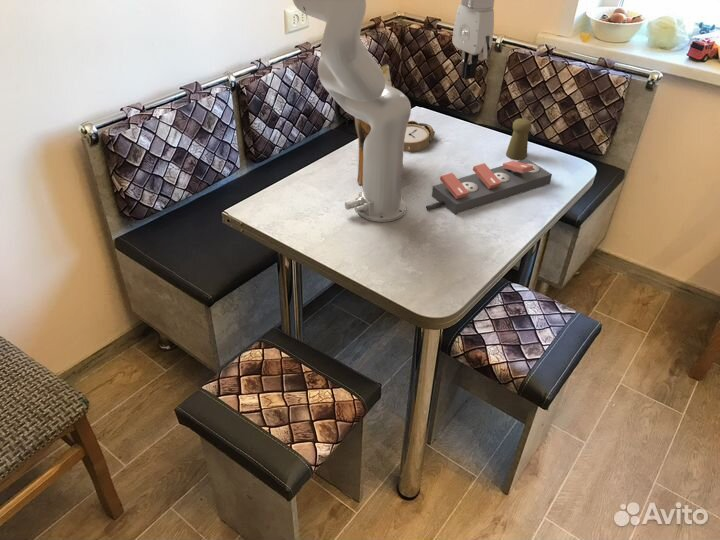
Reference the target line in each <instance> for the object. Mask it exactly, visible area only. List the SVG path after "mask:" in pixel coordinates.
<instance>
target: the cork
mask: <svg viewBox="0 0 720 540" xmlns="http://www.w3.org/2000/svg"><path fill="white" fill-rule="evenodd" d="M531 129H532V122H531V121H530V120H529V119H527V118H524V117H523V118H516V119H515V120H514V121H513V122H512V130H513V132H512V133H511V137H510V141H509V143H508V147H507V150H506V152H505V156H506V157H507V158H508V159H510V160H511V161H520V160H524V159H528V145H529V144H528V142H529V133H530V132H531Z"/></svg>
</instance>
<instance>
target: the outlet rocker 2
mask: <svg viewBox="0 0 720 540" xmlns="http://www.w3.org/2000/svg"><path fill="white" fill-rule="evenodd" d="M490 169H491V168H489V166H488V165H487V164H486V163H480V164H477V165H474V166H473V167H472V171H473V172H474V174H477V176H478V177H479V180H480V182H483V183H484V184H485V185H486V186H487V187H488V189H491V188H495V187H498V186H500V185H501V181H500V180H499V179H498V178H497V177H496V176H495V175H494V173H493V172H492V171H491V170H490Z"/></svg>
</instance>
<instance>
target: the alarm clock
mask: <svg viewBox="0 0 720 540" xmlns="http://www.w3.org/2000/svg"><path fill="white" fill-rule="evenodd" d="M435 133H436V131H435V130H434V128H433V126H432V125H430V124H428V123H423V122H420V123H419V122H417V121H415V120H409V121H408V124H407V128H406V133H405V139H404V150H403V152H410V153H411V152H412V153H413V152H420V151H422V150H424V149H426V148H427V147H428V146H429V144H430V143H429V142H431V141H432V140H433V139H434V138H435Z"/></svg>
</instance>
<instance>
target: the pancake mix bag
mask: <svg viewBox="0 0 720 540" xmlns="http://www.w3.org/2000/svg"><path fill="white" fill-rule="evenodd" d="M380 68H381V70H382V72H383V74H384V77H385V84H386V85H388V86H391V87H393V86H392V79H391V78H392V77H391V72H390V66H389V65H388V63H385V64H383V65H381V66H380ZM354 126H355V130H356V131H355V132H356V135H357V139H358V140H357V141H358V169H357V184H358V185H359V186H360V185H363V147H364V141H365V139H366V137H367V135H368V134H369V133H370V131H371V126H370V125H369V124H367V123H365V122H364V121H362V120H360V119H358V118H356V117H354Z"/></svg>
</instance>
